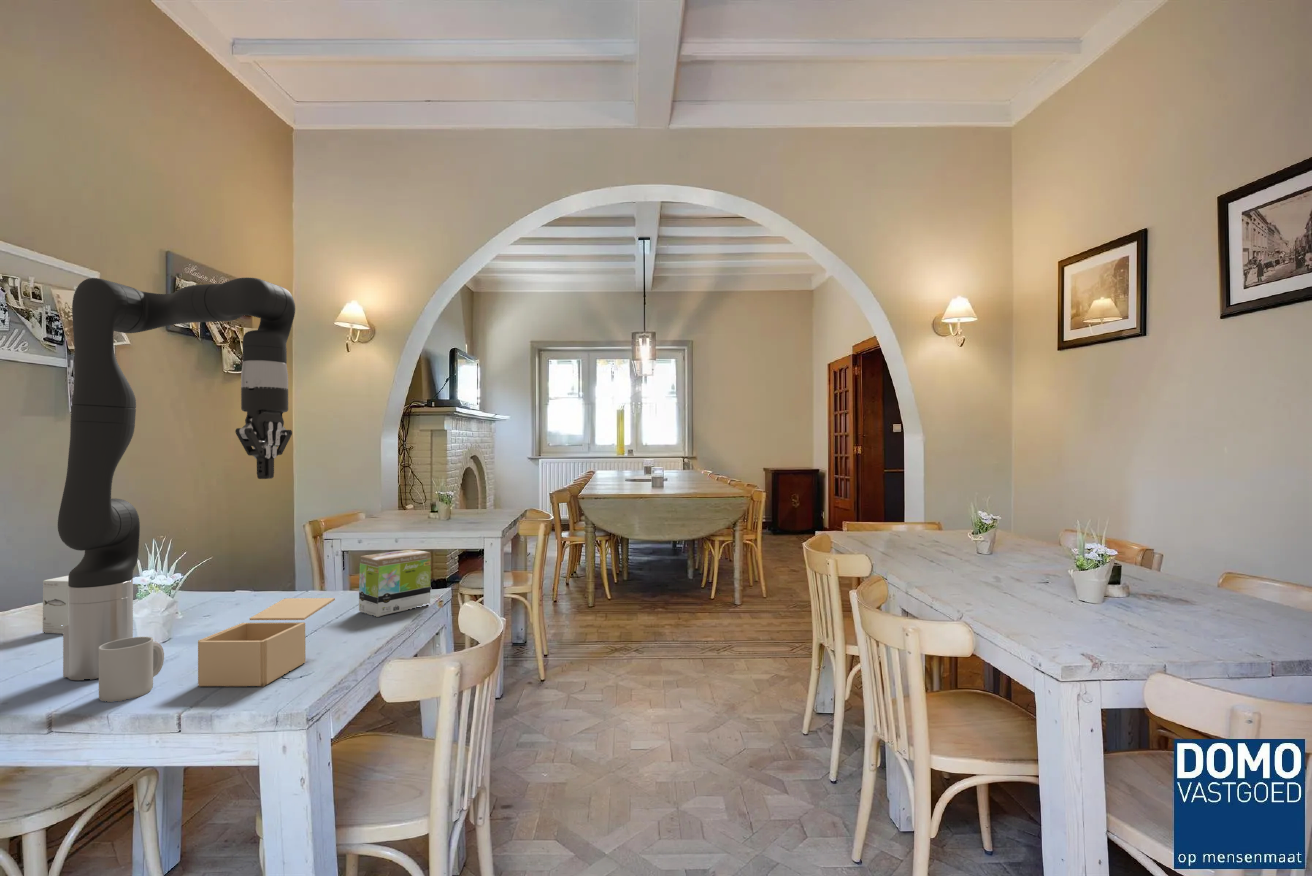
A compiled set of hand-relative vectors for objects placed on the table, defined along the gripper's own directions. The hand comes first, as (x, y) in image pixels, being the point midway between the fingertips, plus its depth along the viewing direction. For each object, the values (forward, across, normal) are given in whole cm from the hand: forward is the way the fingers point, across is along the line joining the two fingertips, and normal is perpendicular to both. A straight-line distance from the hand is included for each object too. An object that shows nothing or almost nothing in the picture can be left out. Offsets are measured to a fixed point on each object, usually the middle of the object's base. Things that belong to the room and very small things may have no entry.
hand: (265, 478), depth 115 cm
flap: (+28, -7, -3) cm, 30 cm away
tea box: (+37, -48, +2) cm, 61 cm away
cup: (+37, +7, -19) cm, 42 cm away
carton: (+37, -1, -3) cm, 37 cm away
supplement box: (+37, -30, -69) cm, 84 cm away
